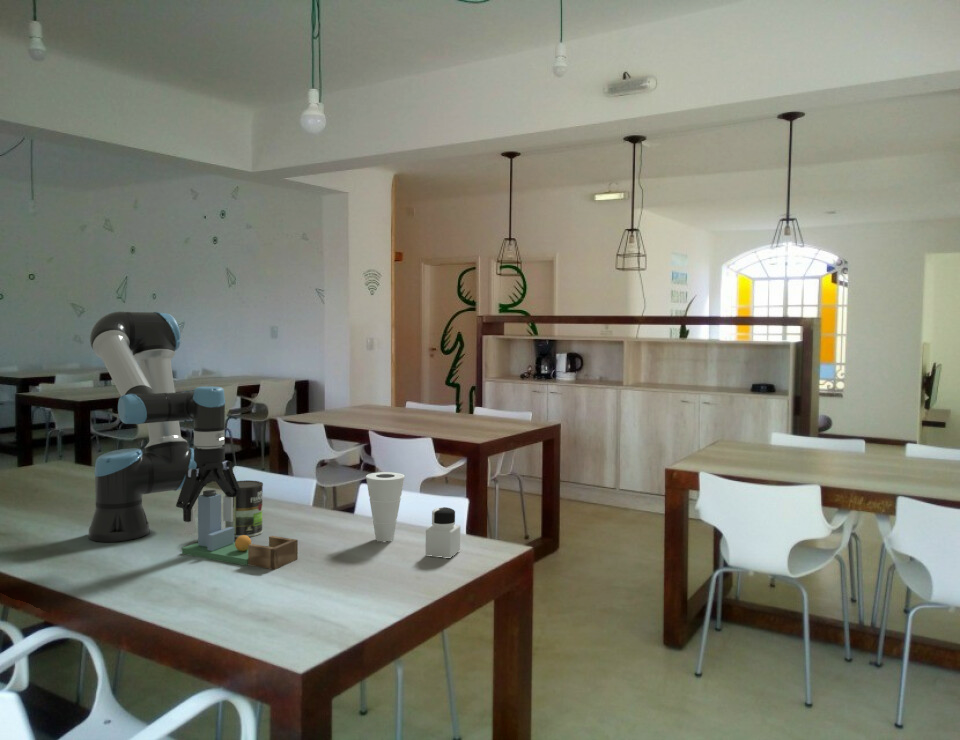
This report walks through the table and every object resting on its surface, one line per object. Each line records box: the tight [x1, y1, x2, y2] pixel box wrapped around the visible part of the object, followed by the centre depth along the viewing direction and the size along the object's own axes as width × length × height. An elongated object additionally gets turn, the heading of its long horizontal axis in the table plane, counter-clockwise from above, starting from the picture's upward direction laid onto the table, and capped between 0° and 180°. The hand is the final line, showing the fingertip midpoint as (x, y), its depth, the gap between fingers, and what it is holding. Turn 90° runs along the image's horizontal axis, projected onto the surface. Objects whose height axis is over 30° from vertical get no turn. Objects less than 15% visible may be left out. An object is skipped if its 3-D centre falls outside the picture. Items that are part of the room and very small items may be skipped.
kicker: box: [197, 489, 235, 551], centre depth 191 cm, size 7×8×14 cm
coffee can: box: [224, 479, 264, 539], centre depth 208 cm, size 10×10×14 cm
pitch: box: [181, 541, 249, 566], centre depth 189 cm, size 21×10×2 cm, turn 67°
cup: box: [365, 471, 406, 542], centre depth 204 cm, size 11×11×18 cm
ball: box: [234, 535, 252, 551], centre depth 187 cm, size 4×4×4 cm
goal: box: [247, 535, 299, 571], centre depth 184 cm, size 8×9×5 cm
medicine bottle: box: [425, 506, 461, 558], centre depth 193 cm, size 7×7×12 cm
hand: (209, 527), depth 191 cm, fingers open, 13 cm apart
